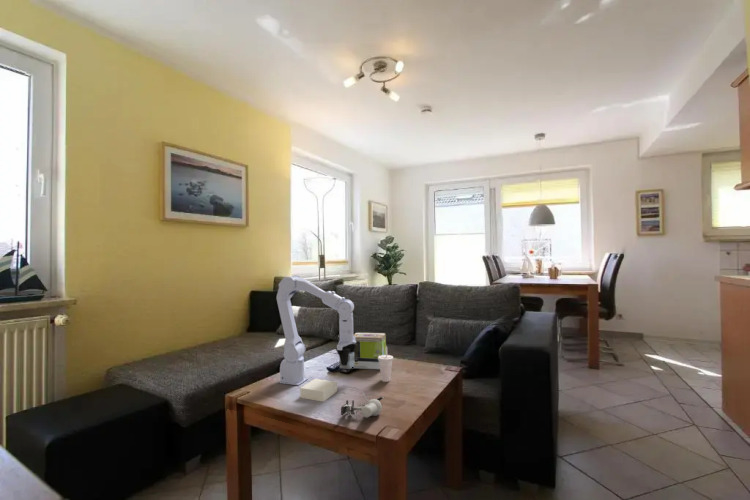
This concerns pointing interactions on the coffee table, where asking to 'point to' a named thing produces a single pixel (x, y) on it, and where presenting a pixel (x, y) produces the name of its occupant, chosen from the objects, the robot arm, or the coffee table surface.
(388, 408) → the coffee table surface
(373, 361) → the tea box
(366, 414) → the clip-on lamp
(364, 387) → the coffee table surface
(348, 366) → the block
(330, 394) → the base box
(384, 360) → the smoothie
